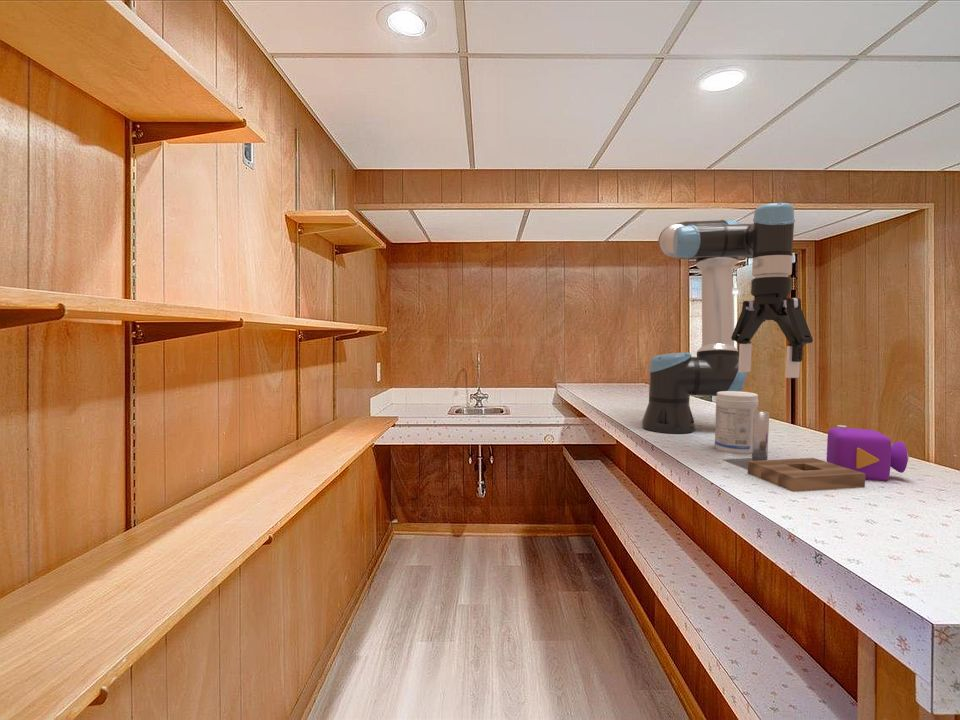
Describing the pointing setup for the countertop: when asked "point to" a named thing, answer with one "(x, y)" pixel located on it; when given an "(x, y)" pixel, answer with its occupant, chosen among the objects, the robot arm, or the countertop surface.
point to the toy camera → (865, 452)
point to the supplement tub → (735, 421)
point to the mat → (739, 462)
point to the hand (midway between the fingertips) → (766, 374)
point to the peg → (760, 435)
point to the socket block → (806, 474)
